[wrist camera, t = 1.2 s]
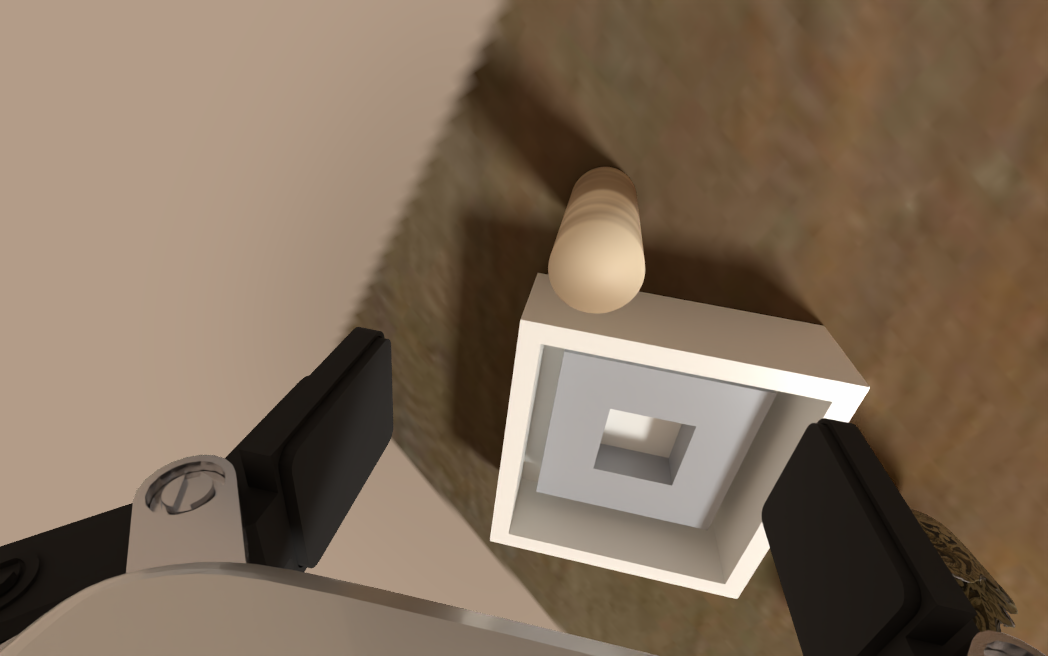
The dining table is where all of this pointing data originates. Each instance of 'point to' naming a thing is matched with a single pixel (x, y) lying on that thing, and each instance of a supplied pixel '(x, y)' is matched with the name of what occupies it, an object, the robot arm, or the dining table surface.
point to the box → (659, 433)
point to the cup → (970, 577)
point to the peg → (599, 244)
